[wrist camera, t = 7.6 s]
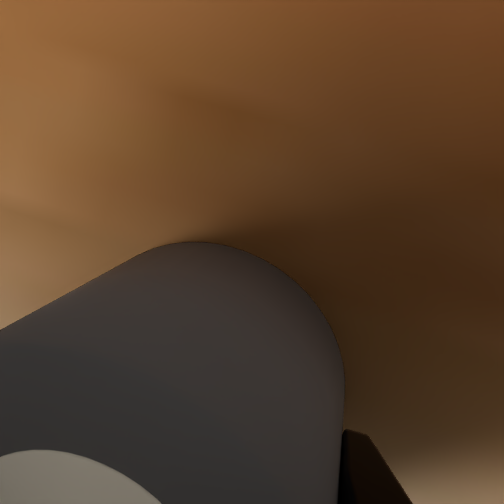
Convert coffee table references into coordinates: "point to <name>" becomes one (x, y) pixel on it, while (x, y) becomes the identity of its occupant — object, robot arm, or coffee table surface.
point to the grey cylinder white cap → (173, 388)
